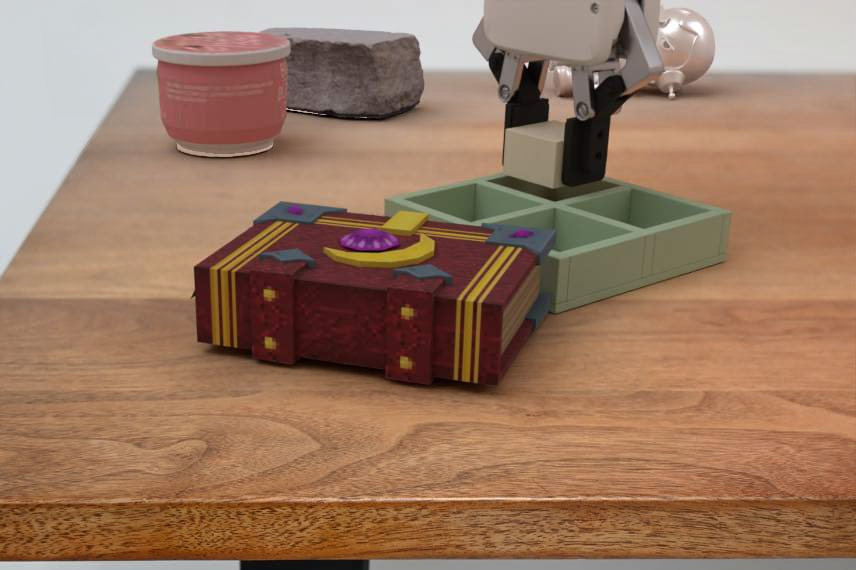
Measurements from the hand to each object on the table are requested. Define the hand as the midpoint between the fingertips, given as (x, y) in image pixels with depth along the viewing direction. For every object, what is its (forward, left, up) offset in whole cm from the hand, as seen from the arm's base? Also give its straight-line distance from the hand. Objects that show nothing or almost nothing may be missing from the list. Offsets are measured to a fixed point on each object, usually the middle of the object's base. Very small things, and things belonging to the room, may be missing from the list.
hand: (552, 170), depth 76 cm
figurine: (-37, -26, -4) cm, 45 cm away
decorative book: (+19, +6, -4) cm, 21 cm away
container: (+4, -31, -4) cm, 31 cm away
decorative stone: (-11, -36, -4) cm, 37 cm away
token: (0, 0, 0) cm, 0 cm away
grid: (+3, +3, -4) cm, 6 cm away
